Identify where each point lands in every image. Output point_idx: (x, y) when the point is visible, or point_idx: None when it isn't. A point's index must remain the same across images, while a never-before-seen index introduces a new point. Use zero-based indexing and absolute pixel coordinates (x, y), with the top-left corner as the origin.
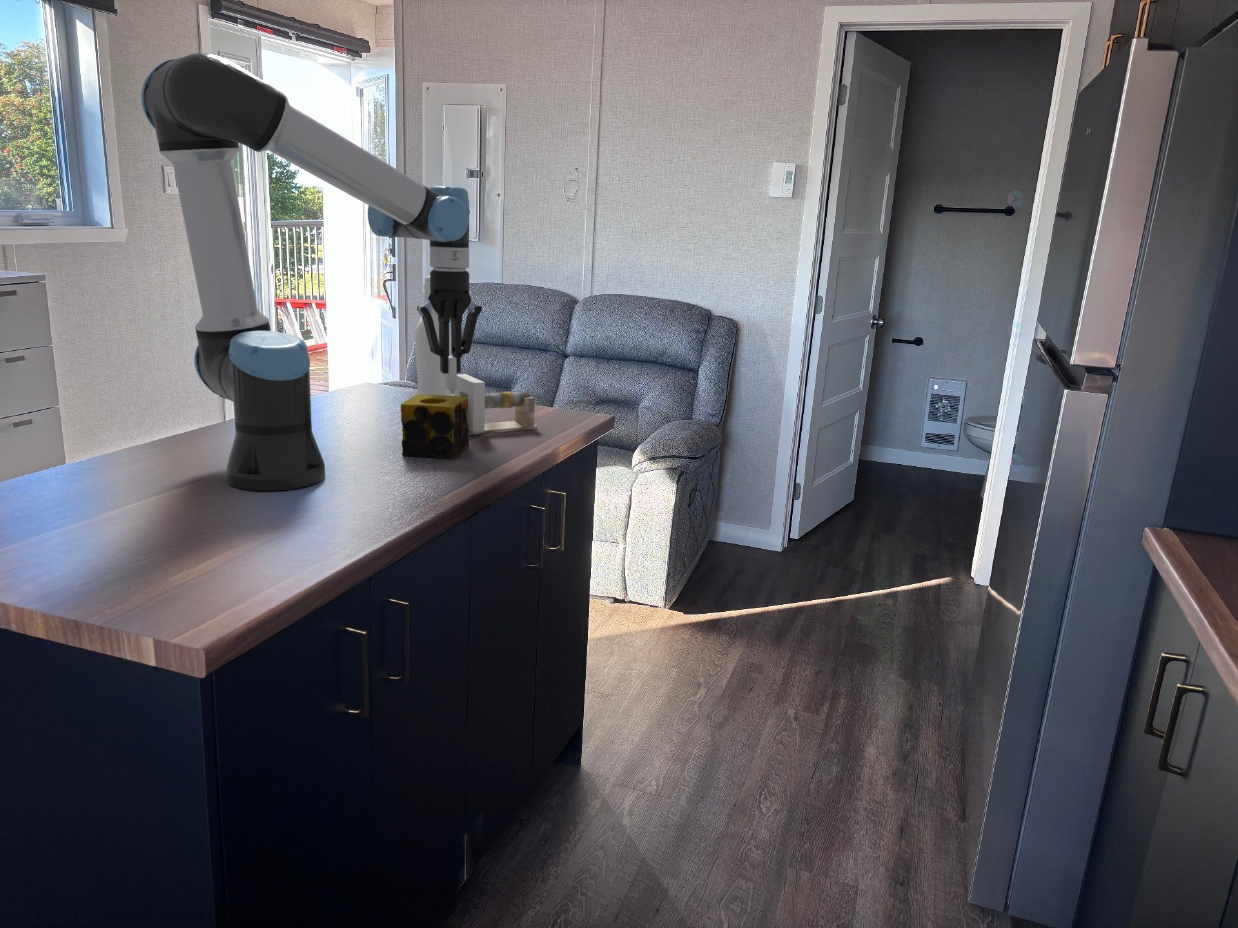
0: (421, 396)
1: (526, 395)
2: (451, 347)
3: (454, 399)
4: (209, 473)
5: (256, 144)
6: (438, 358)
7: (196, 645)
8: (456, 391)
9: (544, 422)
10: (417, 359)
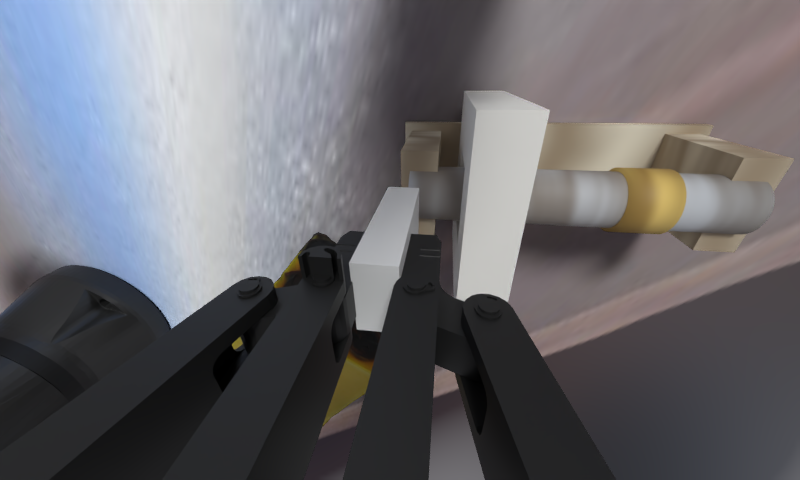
0: None
1: (727, 233)
2: (387, 312)
3: (341, 386)
4: (15, 260)
5: None
6: None
7: None
8: (468, 123)
9: (773, 141)
10: None
